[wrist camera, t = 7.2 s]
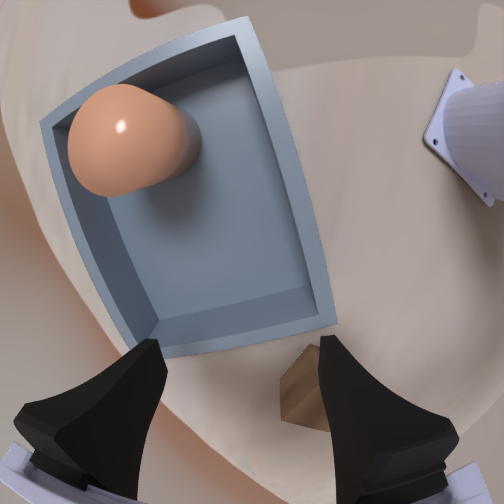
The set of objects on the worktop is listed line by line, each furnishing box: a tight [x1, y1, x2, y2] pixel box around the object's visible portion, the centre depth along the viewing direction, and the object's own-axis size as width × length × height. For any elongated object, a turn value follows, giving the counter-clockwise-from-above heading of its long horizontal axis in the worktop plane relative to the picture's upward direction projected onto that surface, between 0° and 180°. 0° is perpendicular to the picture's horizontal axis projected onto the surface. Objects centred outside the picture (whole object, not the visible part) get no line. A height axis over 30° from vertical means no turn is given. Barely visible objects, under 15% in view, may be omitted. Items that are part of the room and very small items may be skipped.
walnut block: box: [280, 344, 330, 432], centre depth 21 cm, size 5×5×5 cm
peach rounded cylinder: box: [68, 84, 202, 197], centre depth 13 cm, size 5×5×7 cm
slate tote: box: [40, 16, 338, 359], centre depth 16 cm, size 18×14×5 cm
